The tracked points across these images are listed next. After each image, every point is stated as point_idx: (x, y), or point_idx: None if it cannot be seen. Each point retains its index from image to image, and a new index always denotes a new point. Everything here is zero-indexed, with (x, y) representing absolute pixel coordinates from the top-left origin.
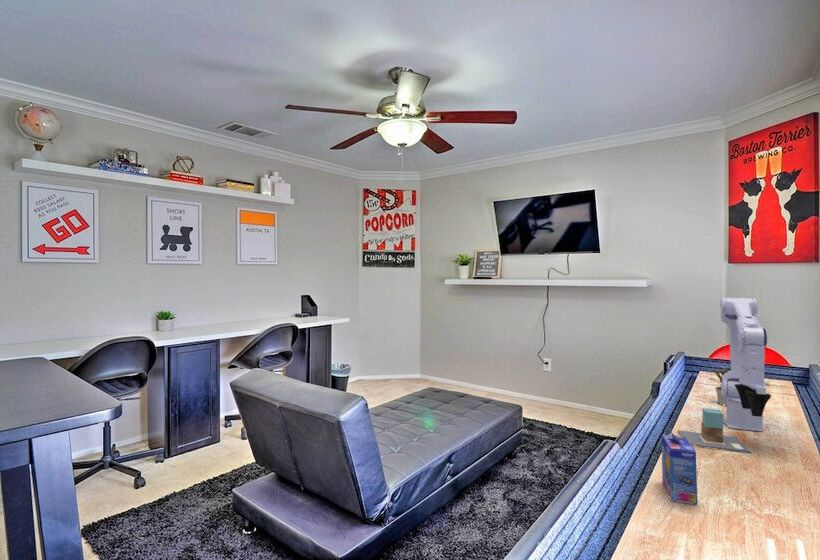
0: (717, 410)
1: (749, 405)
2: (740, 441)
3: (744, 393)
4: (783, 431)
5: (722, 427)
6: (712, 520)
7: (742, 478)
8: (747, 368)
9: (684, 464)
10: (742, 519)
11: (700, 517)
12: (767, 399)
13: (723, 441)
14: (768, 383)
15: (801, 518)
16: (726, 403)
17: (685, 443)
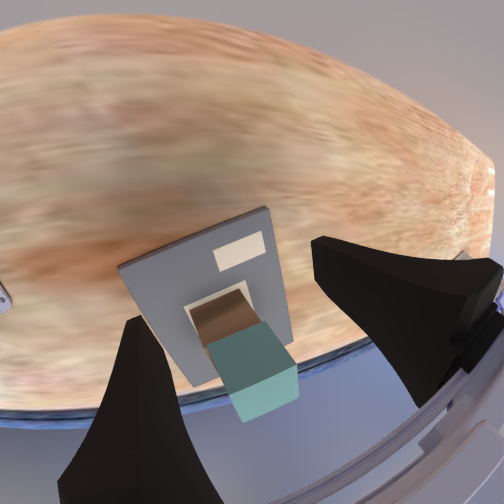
0: (247, 394)
1: (150, 343)
2: (171, 250)
3: (184, 449)
4: None
5: (267, 326)
6: (475, 234)
7: (415, 216)
8: None
9: None
10: (475, 212)
11: (472, 243)
12: (462, 267)
13: (214, 291)
14: (502, 455)
15: (472, 155)
16: None
17: (499, 298)
